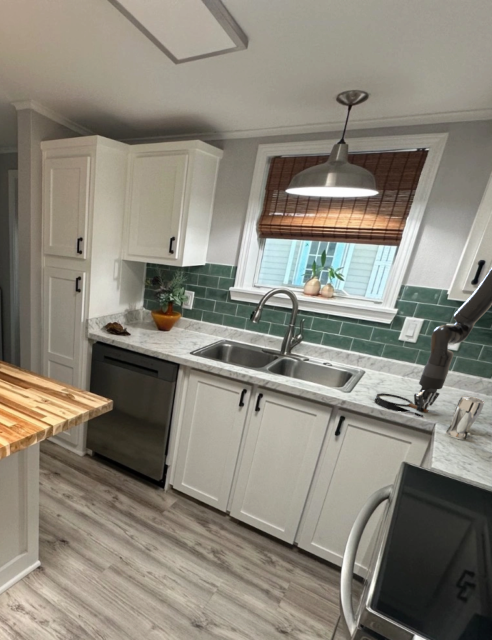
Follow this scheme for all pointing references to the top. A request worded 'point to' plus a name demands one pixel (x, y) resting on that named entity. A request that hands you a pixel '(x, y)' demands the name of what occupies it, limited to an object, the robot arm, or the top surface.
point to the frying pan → (393, 405)
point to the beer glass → (464, 416)
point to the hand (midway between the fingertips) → (419, 415)
